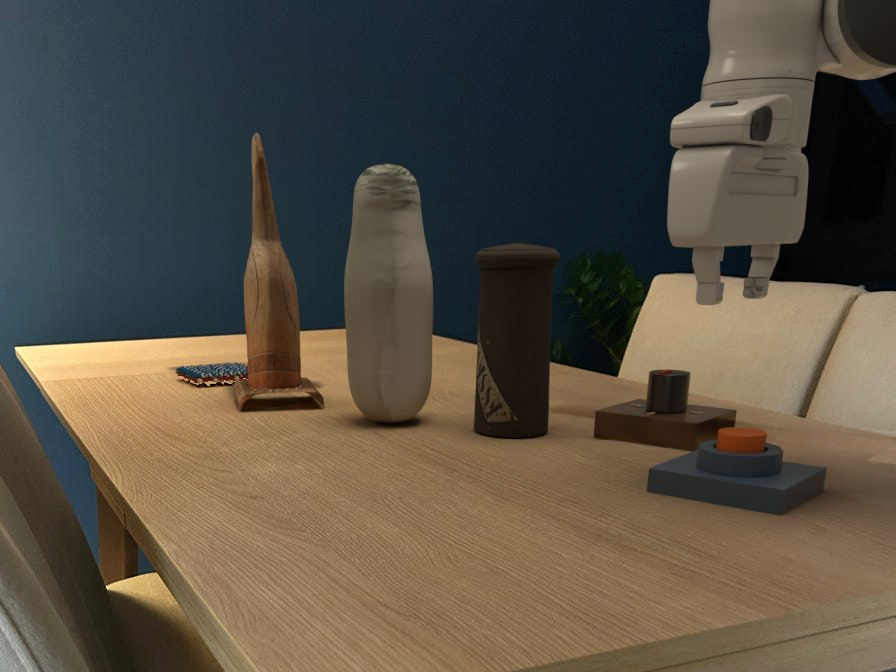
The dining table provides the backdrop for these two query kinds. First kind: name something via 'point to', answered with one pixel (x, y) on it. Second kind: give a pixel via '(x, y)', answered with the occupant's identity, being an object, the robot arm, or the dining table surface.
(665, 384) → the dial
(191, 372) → the woven mat
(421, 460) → the dining table surface
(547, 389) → the container
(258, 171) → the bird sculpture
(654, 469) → the housing
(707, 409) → the dial panel
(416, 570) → the dining table surface
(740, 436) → the orange push button
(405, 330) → the grey rounded cylinder
